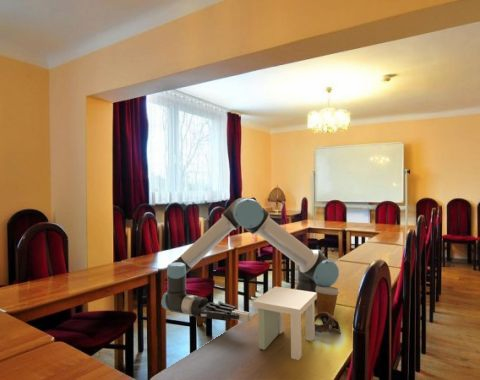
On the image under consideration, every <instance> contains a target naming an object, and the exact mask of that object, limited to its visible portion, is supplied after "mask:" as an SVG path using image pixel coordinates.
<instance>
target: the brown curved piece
mask: <svg viewBox="0 0 480 380" xmlns="http://www.w3.org/2000/svg"><path fill="white" fill-rule="evenodd" d="M328 316H329V317H328ZM319 317H320V318H319ZM317 319H320V320H321V322H322V324H316V323H315V333H320V334H321V333H324V332H331V329H335V330H338V332H339V333H338V334H339V335H341V334H342V332H341V327H340V325H339V322H338V320H337V318H336V317H335V315H334V316H332V315H330V314H329V313H328V312H326V311H322V312H320V313H318V314H317V313H316V314H315V322H317ZM330 328H331V329H330Z"/></svg>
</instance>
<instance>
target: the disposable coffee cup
mask: <svg viewBox="0 0 480 380" xmlns="http://www.w3.org/2000/svg"><path fill="white" fill-rule="evenodd" d="M315 290H316V293H317V299H316V301H317V303H316V314H318V313H320V312H322V311H326V312H328V313H329V314H330V315H332V316H334V317H335V310H336V306H337V302H338V301H337V300H338V295H339V293H340V291H339V288H337V287H334V286H328V287H321V286H319V285H317V286H316V288H315ZM328 317H329V316H328ZM318 319H320V317H319V318H318Z"/></svg>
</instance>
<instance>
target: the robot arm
mask: <svg viewBox="0 0 480 380" xmlns="http://www.w3.org/2000/svg"><path fill="white" fill-rule="evenodd" d="M239 227H242V228H244V229H245V230H246V231H248V232H249V233H250V234H252V235H259V236H260V237H261V238H263V239H264V240H265V241H266V242H268V243H269V244H270V245H271V246H273V247H275V249H277V250H278V251H280V253H282V254H283V255H285V256H286V257H287V258H288V259H290V260H291V261H292V262H293V263H295V264H296V265H297V283H296V288H295V289H296V290H303V291H309V292H316V290H315V288H316V286H317V285H319V286H321V287H328V286H331V287H333V285H334V284H335V283H336V282H337V280H338V279H339V275H340V270H339V266H338V265H337V264H336V262H334V260H331V259H329V258H327V256H325V255H323V254H324V253H323V250H321V249H310V248H309V247H308V246H306V244H304V243H303V242H301V240H299V239H298V238H296V237H295V236H294V235H293V234H292V233H290V232H289V231H288V230H286V229H285V228H283V227H282V226H281V225H280V224H279V223H277V222H276V221H275V220H274V219H272V218H271V215H270V212H269V211H268V210H266V208H264V207H263V206H262V205H261V204H260V202H259V201H257V200H255V199H254V198H249V197H248V198H247V197H240V198H237V199H235V200H234V201H233V202H232V203H231V204H230V205H229V206H228V207H227V208H226V210H225V211H223V212H222V213H221V217H220V218H219V219H218V220H217V221H216V222H215V223H214V224H213V225H211V226H210V228H209V229H208V230H207V231H205V232H204V233H203V234H202V235H201V236H200V237H199V238H198V239H197V240H195V242H194V243H193V244H192V245H190V246H189V247H188V248H187V249H186V250H185V251H184V252H183V253H182V254H180V256H179V257H178V258H176V259H175V260H173V261H172V262H171V263H169V264H167V268H166V269H167V270H166V281H167V284H166V285H167V291H165V292H164V293H163V295H162V297H161V298H162V299H161V302H160V304H161V306H162V308H163V309H164V310H166V311H167V310H168V311H170V312H171V313H178V314H183V315H187V316H189V317H192V316H193V317H195V318H200V319H202V320H203V319H208V320H209V319H210V320H215V321H216V320H218V321H224V322H226V321H227V320H228V322H232V320H235V321H240V322H244V323H248V322H250V321H251V312H250V311H249V312H248V311H246V310H239V309H237V306H234V305H232V304H228V303H225V302H223V301H221V300H219V301H218V303H215V302H212V301H211V302H210V301H209V300H208V298H207V297H204V296H203V297H202V296H198V295H193V294H188V293H187V274H188V273H189V271H191V270H192V268H193V267H195V266H196V265H197V264H198V263H199V262H200V261H201V260H202V259H204V258H205V256H207V254H208V253H210V252H211V251H212V250H213V249H214V248H215V247H216V246H217V245H218V244H219V243H221V241H222V240H223V239H224V238H225V237H227V235H229V234H230V233H231V232H232V231H233V230H237V229H238V228H239ZM314 304H317V301H316V300H315V301H314Z"/></svg>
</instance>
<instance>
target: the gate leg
mask: <svg viewBox="0 0 480 380" xmlns="http://www.w3.org/2000/svg"><path fill="white" fill-rule="evenodd" d="M257 311H258V313H257V314H258V349H260V350H266V349H267V348H268V347H269V346H270V345H271V343H272V342H273V341H274V340H275V339H276V338H277V336H278V335H279V333H278V312H275V311H270V310H265V309H260V308H257Z"/></svg>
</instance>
